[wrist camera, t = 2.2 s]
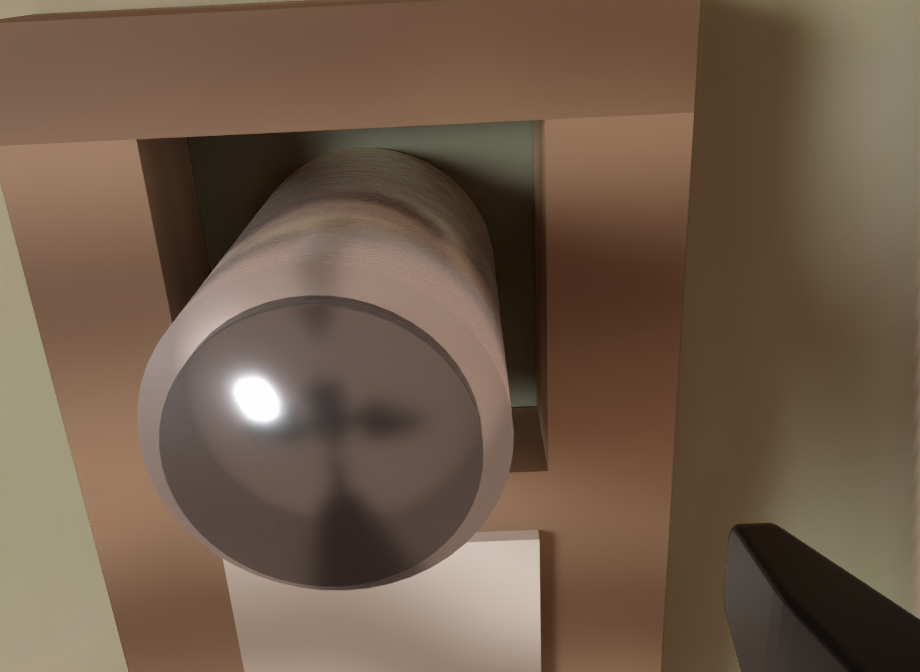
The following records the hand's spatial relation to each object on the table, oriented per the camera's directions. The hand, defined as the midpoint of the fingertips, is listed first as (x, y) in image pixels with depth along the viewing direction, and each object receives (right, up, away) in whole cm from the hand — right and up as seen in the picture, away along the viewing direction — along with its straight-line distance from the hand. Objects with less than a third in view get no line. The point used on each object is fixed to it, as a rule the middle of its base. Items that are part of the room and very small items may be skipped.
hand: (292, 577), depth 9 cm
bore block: (0, +1, +9) cm, 10 cm away
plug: (0, +4, +8) cm, 9 cm away
